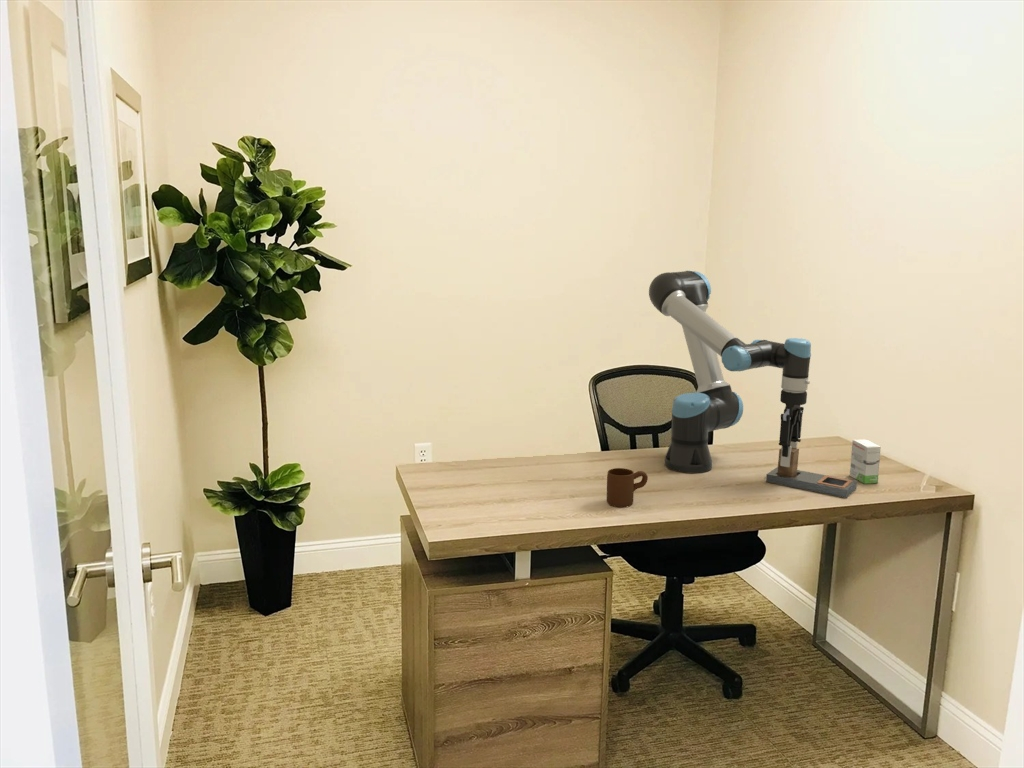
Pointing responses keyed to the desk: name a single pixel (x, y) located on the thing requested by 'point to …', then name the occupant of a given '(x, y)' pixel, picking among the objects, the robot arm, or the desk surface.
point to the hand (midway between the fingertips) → (787, 464)
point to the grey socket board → (814, 483)
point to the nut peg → (792, 469)
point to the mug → (623, 486)
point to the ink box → (865, 461)
